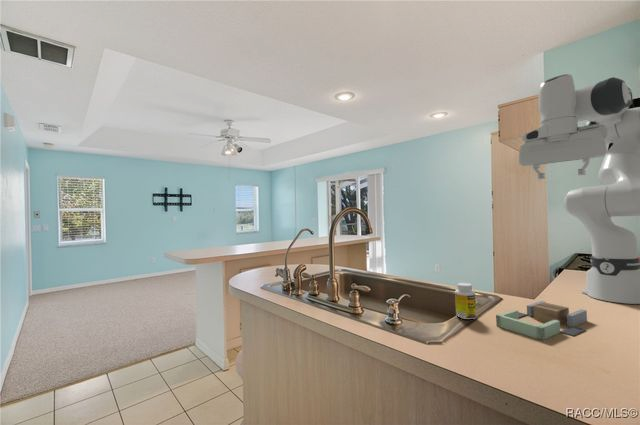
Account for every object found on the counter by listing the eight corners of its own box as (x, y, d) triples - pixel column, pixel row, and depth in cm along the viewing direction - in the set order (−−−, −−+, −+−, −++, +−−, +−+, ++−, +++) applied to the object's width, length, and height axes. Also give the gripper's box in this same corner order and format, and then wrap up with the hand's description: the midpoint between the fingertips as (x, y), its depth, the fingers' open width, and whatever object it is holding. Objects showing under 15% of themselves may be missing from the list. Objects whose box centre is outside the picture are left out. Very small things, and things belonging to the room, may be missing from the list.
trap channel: (531, 308, 96) (531, 298, 96) (599, 324, 81) (599, 313, 81) (487, 322, 86) (486, 312, 86) (555, 344, 70) (554, 331, 70)
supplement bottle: (469, 322, 87) (468, 287, 87) (452, 317, 91) (450, 284, 91) (480, 318, 90) (478, 284, 90) (462, 313, 94) (461, 281, 94)
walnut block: (545, 315, 89) (544, 302, 90) (569, 321, 84) (568, 307, 84) (534, 319, 87) (533, 306, 87) (558, 326, 81) (557, 311, 81)
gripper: (607, 124, 83) (609, 173, 83) (521, 139, 98) (523, 181, 98) (606, 119, 79) (609, 171, 79) (516, 136, 94) (518, 180, 94)
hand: (560, 177), depth 89 cm, fingers open, 8 cm apart
